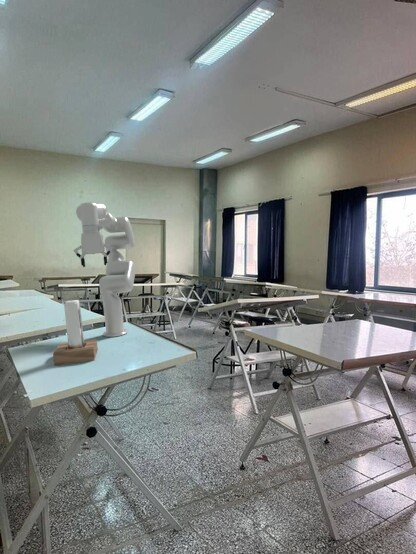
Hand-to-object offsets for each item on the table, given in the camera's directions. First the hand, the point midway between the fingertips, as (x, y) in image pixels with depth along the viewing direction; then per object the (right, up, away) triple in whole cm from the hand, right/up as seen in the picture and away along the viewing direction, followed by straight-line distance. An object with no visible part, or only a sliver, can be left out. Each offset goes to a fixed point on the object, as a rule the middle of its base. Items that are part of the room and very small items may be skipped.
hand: (94, 266), depth 176 cm
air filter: (-4, -40, -12) cm, 42 cm away
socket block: (-4, -40, -13) cm, 42 cm away
